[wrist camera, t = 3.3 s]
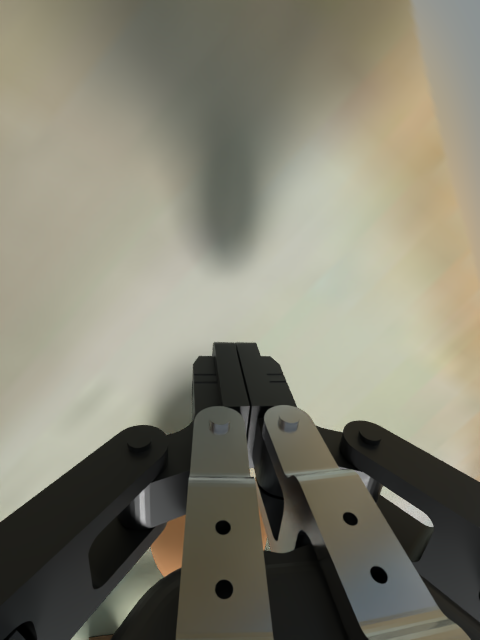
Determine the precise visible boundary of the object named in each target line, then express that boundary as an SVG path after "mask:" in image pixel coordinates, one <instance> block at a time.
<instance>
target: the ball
mask: <svg viewBox="0 0 480 640" xmlns="http://www.w3.org/2000/svg"><path fill="white" fill-rule="evenodd" d="M258 508H259V506H258ZM259 517H260V526H261V535H262V543H263V550H264V549H265V545H266V540H267V534H266V531H265V527H264V524H263V520H262V517H261V513H260V510H259ZM185 518H186V515H183V516H181V517H178V518H176V519H173V520H171V521H168V522H167V525H166V527H165V529H164V530H163V532H162V533H161V534H160V535H159V536H158V538H157V539H156V540H155V541H154V542H153V543H152V545H151V551H152V554H153V558H154V560H155V563H156V565H157V567H158V569H159V570H160V572H161V573H162V575H163V576H164V577H165V576H167V575H168V574H170V573H171V572H173V571H175V570H177V569H179V568H181V567H182V555H183V543H184V531H185Z"/></svg>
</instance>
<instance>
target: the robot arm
mask: <svg viewBox="0 0 480 640" xmlns="http://www.w3.org/2000/svg"><path fill="white" fill-rule="evenodd" d="M249 468H254V469H255V474H256V477H255V479H254V477H250V469H249ZM383 486H385V487H386V488H388V489H389V490H391V491H392V492H394V493H395V494H397V495H398V496H400V497H401V498H403V499H405V500H406V501H408V502H409V503H411V504H412V505H414V506H415V507H417V508H418V509H420V510H421V511H423V512H424V513H425V514H426V515H427V516H428V517H429V518H430V519H431V521H432V523H433V526H434V527H428V526H426V525H424V524H422V523H421V522H419V521H418V520H416V519H415V518H413V517H412V516H410V515H409V514H408V513H406V512H405V511H403V510H402V509H400V508H399V507H397V506H396V505H394V504H393V503H391V502H390V501H388V500H387V499H385V498H384V497H383V496H381V495H380V492H381V489H382V487H383ZM258 506H259V508H258ZM259 510H260V513H261V517H262V520H263V524H264V527H265V531H266V534H267V538H268V541H269V545H270V549H271V551H265V550H263V543H262V535H261V526H260V517H259ZM183 515H186V518H185V531H184V543H183V555H182V567H181V568H179V569H177V570H175V571H173V572H171V573H170V574H168V575H167V576H165V577H164V578H162V579H161V580H159V581H158V582H157V583H156V584H155V585H154V586H152V587H151V588H150V589H149V590H148V591H147V592H146V593H145V594H144V595H143V596H142V598H141V599H140V600H139V601H138V602H137V604H136V605H135V606H134V608H133V609H132V610H131V612H130V613H129V614H128V616H127V617H126V619H125V620H124V621H123V623H122V624H121V625H120V627H119V628H118V630H117V631H116V632H115V634H114V635H113V636H112V638H111V639H110V640H480V482H478V481H477V480H475V479H473V478H471V477H469V476H468V475H466V474H464V473H462V472H461V471H459V470H457V469H455V468H453V467H452V466H450V465H448V464H446V463H445V462H443V461H441V460H439V459H437V458H436V457H434V456H432V455H430V454H429V453H427V452H425V451H423V450H421V449H420V448H418V447H416V446H414V445H413V444H411V443H409V442H407V441H405V440H404V439H402V438H400V437H398V436H397V435H395V434H393V433H391V432H389V431H388V430H386V429H384V428H382V427H381V426H379V425H377V424H374V423H371V422H368V421H352V422H350V423H348V424H347V425H346V426H345V427H344V430H343V432H338V431H333V430H328V429H324V428H321V427H318V426H315V424H314V422H313V421H312V419H311V417H310V416H309V415H308V414H307V413H306V412H305V411H303V410H301V409H299V408H297V406H296V403H295V401H294V399H293V396H292V394H291V391H290V389H289V386H288V384H287V383H286V379H285V377H284V375H283V372H282V370H281V367H280V365H279V364H278V363H277V362H276V361H275V360H274V359H273V358H272V357H270V356H260V353H259V350H258V347H257V344H256V343H228V342H214V343H213V352H212V356H199V357H198V358H197V360H196V361H195V362H194V364H193V382H192V422H191V423H190V425H189V426H187V427H186V428H185V429H183V430H181V431H179V432H176V433H173V434H170V435H165V433H164V432H163V431H162V430H160V429H158V428H156V427H153V426H149V425H138V426H133V427H129V428H127V429H125V430H123V431H121V432H120V433H118V434H117V435H116V436H114V437H113V438H112V439H110V440H109V441H108V442H106V443H105V444H104V445H102V446H101V447H100V448H98V449H97V450H96V451H94V452H93V453H92V454H90V455H89V456H88V457H86V458H85V459H84V460H82V461H81V462H80V463H78V464H77V465H76V466H74V467H73V468H72V469H71V470H69V471H68V472H67V473H65V474H64V475H63V476H61V477H60V478H59V479H57V480H56V481H55V482H53V483H52V484H51V485H49V486H48V487H47V488H45V489H44V490H43V491H41V492H40V493H39V494H37V495H36V496H35V497H33V498H32V499H31V500H29V501H28V502H27V503H25V504H24V505H23V506H21V507H20V508H19V509H17V510H16V511H15V512H13V513H12V514H11V515H9V516H8V517H7V518H5V519H4V520H3V521H1V522H0V640H70V639H71V638H72V637H73V636H74V635H75V634H76V632H77V631H78V630H79V629H80V628H81V627H82V625H83V624H84V623H85V622H86V621H87V620H88V618H89V617H90V616H91V615H92V614H93V613H94V611H95V610H96V609H97V608H98V607H99V606H100V604H101V603H102V602H103V601H104V600H105V599H106V597H107V596H108V595H109V594H110V593H111V591H112V590H113V589H114V588H115V587H116V586H117V584H118V583H119V582H120V581H121V580H122V579H123V577H124V576H125V575H126V574H127V573H128V572H129V570H130V569H131V568H132V567H133V566H134V565H135V563H136V562H137V561H138V560H139V559H140V558H141V556H142V555H143V554H144V553H145V552H146V550H147V549H148V548H149V547H150V546H151V545H152V543H153V542H154V541H155V540H156V539H157V538H158V536H159V535H160V534H161V533H162V532H163V530H164V529H165V527H166V525H167V522H168V521H171V520H173V519H176V518H178V517H181V516H183Z"/></svg>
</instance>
